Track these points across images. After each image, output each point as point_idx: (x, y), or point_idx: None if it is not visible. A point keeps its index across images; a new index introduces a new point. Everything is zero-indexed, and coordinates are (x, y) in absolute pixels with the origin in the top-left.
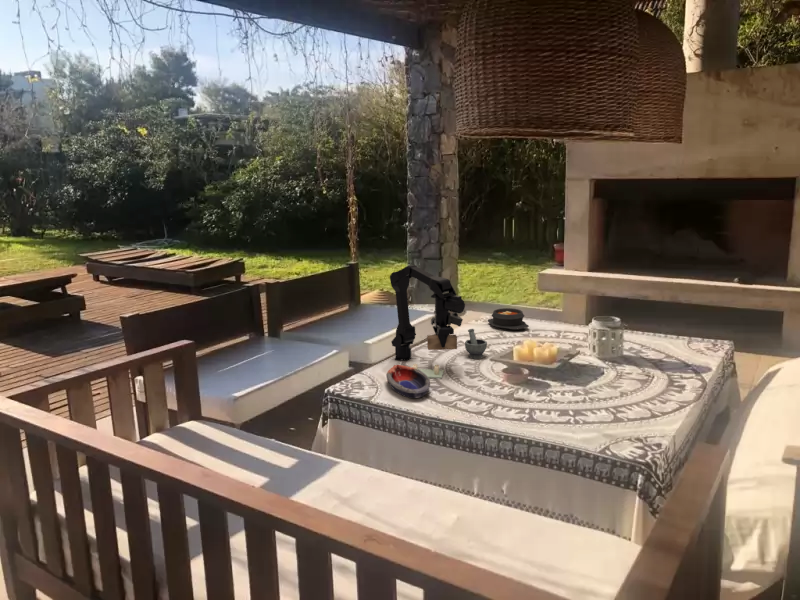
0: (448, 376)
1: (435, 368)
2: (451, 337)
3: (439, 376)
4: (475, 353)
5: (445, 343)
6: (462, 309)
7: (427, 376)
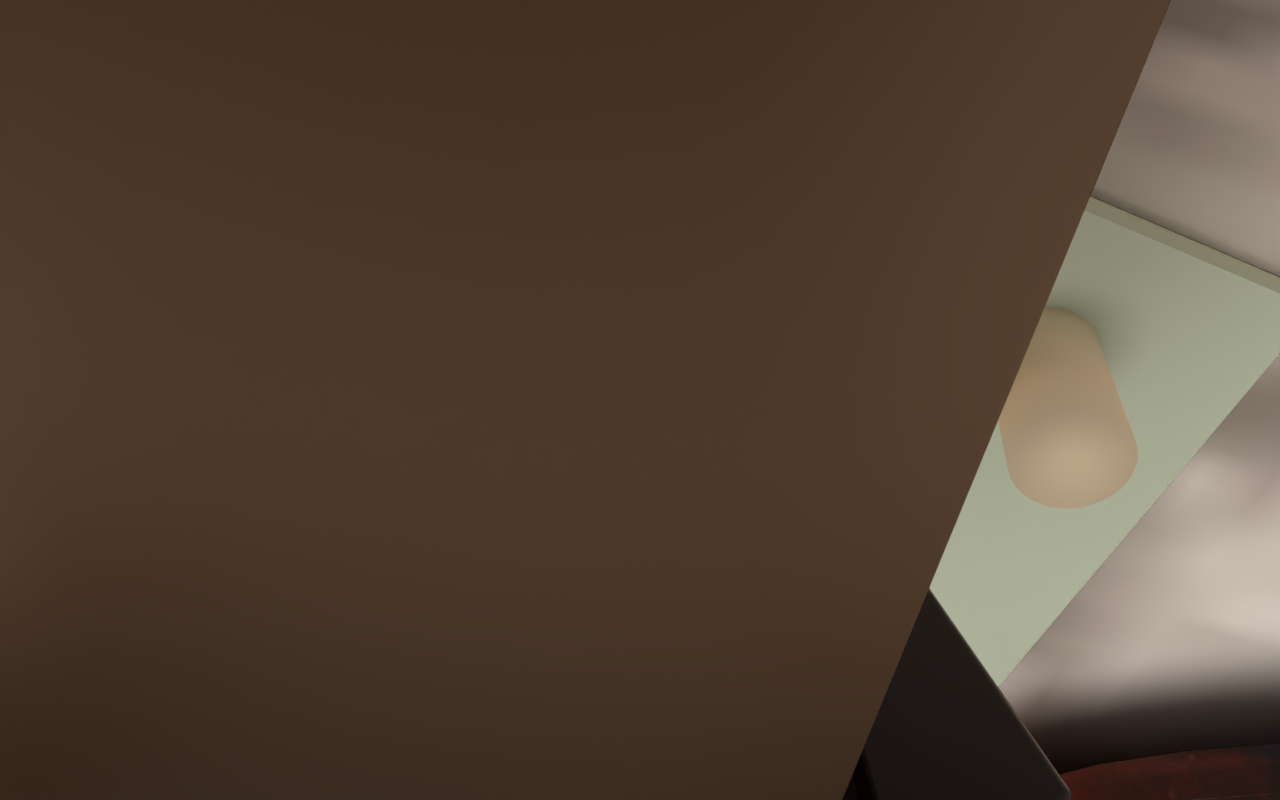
0: (1216, 65)
1: (1115, 482)
2: (893, 438)
3: (1250, 342)
4: None
5: (954, 624)
6: None
7: (1106, 558)
